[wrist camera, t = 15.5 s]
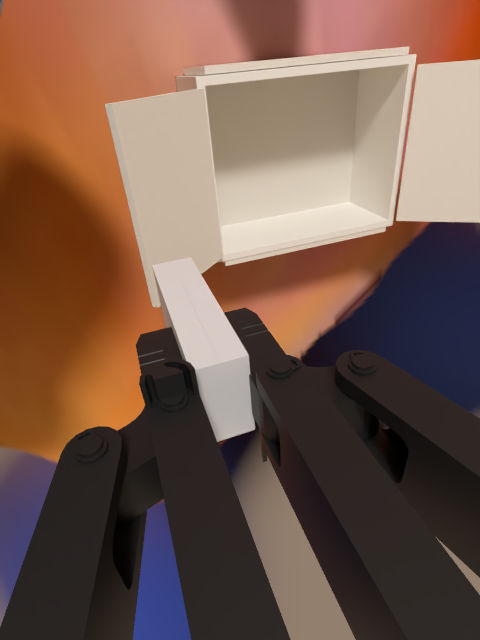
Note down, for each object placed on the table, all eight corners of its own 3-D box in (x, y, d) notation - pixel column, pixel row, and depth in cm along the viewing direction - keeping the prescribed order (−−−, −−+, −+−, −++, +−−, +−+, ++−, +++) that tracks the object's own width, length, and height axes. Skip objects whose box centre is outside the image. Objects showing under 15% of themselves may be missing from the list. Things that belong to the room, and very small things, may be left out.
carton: (198, 239, 41) (218, 268, 35) (174, 68, 33) (194, 67, 27) (350, 209, 45) (392, 230, 39) (362, 50, 37) (417, 45, 31)
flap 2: (500, 222, 35) (499, 220, 36) (549, 54, 28) (547, 53, 29) (396, 220, 38) (395, 219, 38) (418, 64, 31) (417, 64, 31)
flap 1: (111, 103, 21) (104, 104, 21) (157, 307, 28) (152, 306, 28) (204, 88, 27) (197, 88, 27) (222, 257, 34) (218, 256, 34)
